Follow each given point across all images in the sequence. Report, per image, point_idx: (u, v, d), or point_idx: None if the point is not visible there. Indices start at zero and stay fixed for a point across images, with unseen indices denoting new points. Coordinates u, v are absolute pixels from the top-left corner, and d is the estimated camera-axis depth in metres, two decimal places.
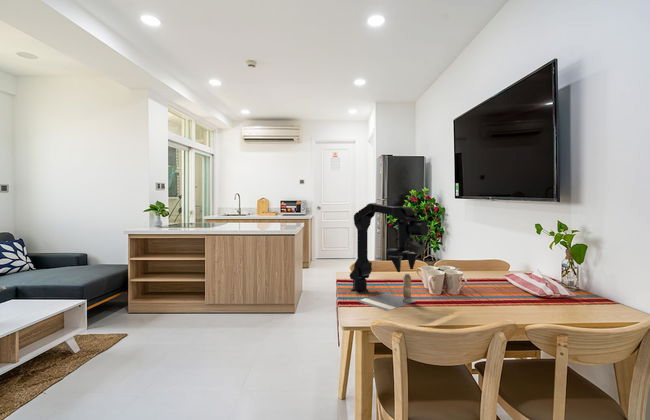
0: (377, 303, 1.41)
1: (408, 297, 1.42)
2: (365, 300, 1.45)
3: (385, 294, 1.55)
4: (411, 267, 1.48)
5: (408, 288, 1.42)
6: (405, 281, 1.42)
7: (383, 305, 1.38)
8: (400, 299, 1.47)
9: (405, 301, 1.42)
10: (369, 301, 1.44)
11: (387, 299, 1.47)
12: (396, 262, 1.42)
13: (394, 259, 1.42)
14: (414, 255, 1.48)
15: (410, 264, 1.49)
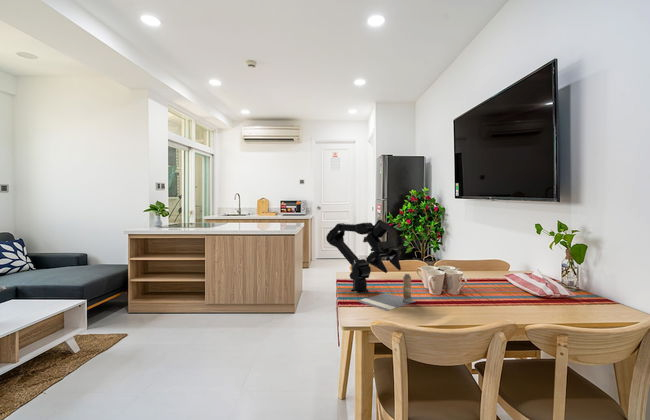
0: (377, 303, 1.41)
1: (408, 297, 1.42)
2: (365, 300, 1.45)
3: (385, 294, 1.55)
4: (399, 268, 1.53)
5: (408, 288, 1.42)
6: (405, 281, 1.42)
7: (383, 305, 1.38)
8: (400, 299, 1.47)
9: (405, 301, 1.42)
10: (369, 301, 1.44)
11: (387, 299, 1.47)
12: (379, 265, 1.48)
13: (376, 264, 1.49)
14: (395, 257, 1.55)
15: (397, 266, 1.54)
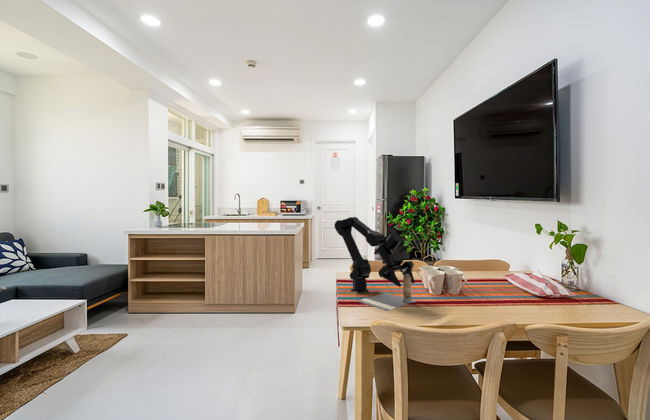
0: (377, 303, 1.41)
1: (408, 297, 1.42)
2: (365, 300, 1.45)
3: (385, 294, 1.55)
4: (412, 281, 1.47)
5: (408, 288, 1.42)
6: (405, 281, 1.42)
7: (383, 305, 1.38)
8: (400, 299, 1.47)
9: (405, 301, 1.42)
10: (369, 301, 1.44)
11: (387, 299, 1.47)
12: (392, 278, 1.42)
13: (389, 277, 1.43)
14: (408, 269, 1.49)
15: None
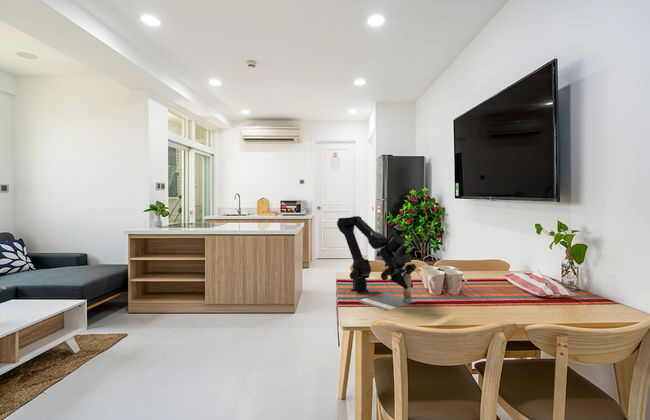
0: (377, 303, 1.41)
1: (408, 297, 1.42)
2: (365, 300, 1.45)
3: (385, 294, 1.55)
4: (411, 285, 1.44)
5: (408, 288, 1.42)
6: (405, 281, 1.42)
7: (383, 305, 1.38)
8: (400, 299, 1.47)
9: (405, 301, 1.42)
10: (369, 301, 1.44)
11: (387, 299, 1.47)
12: (399, 280, 1.43)
13: (396, 279, 1.44)
14: (406, 273, 1.46)
15: None
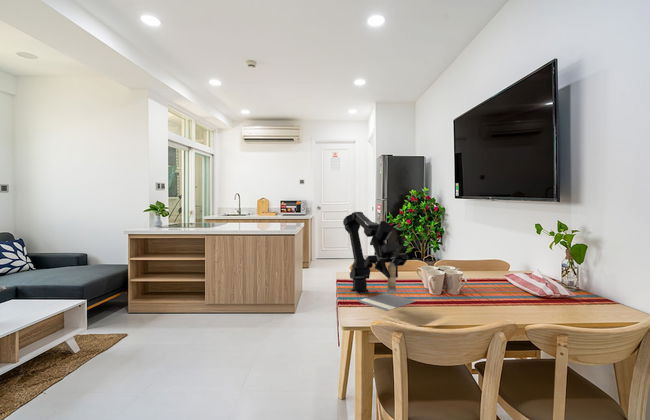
0: (377, 303, 1.41)
1: (391, 287, 1.35)
2: (365, 300, 1.45)
3: (385, 294, 1.55)
4: (396, 275, 1.37)
5: (391, 278, 1.35)
6: (388, 270, 1.36)
7: (383, 305, 1.38)
8: (400, 299, 1.47)
9: (388, 291, 1.36)
10: (369, 301, 1.44)
11: (387, 299, 1.47)
12: (383, 269, 1.37)
13: (380, 268, 1.39)
14: (393, 262, 1.39)
15: None
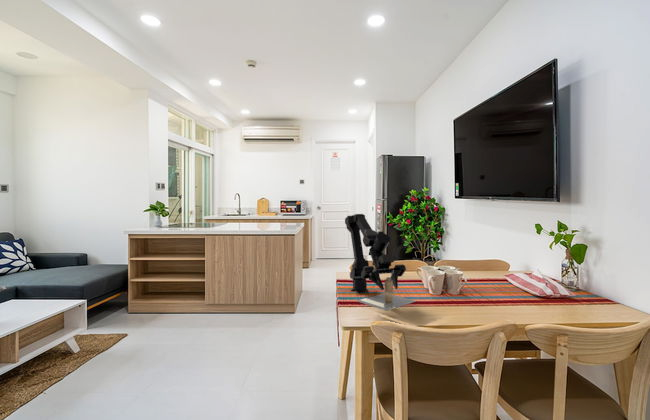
0: (377, 303, 1.41)
1: (388, 302, 1.35)
2: (365, 300, 1.45)
3: None
4: (395, 286, 1.36)
5: (388, 293, 1.35)
6: (385, 285, 1.35)
7: (383, 305, 1.38)
8: (400, 299, 1.47)
9: (385, 306, 1.35)
10: (369, 301, 1.44)
11: None
12: (377, 281, 1.37)
13: (375, 279, 1.38)
14: (393, 273, 1.39)
15: (394, 284, 1.37)
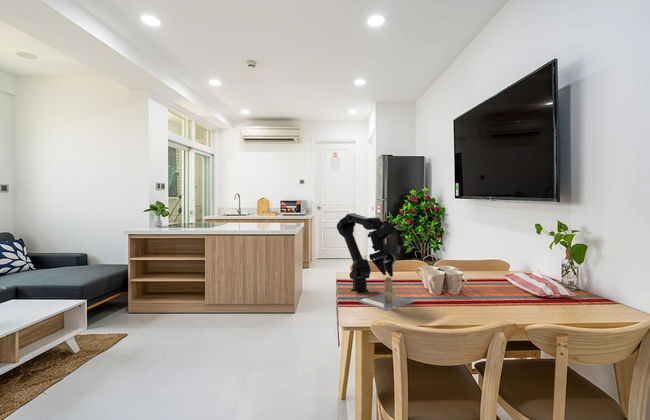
0: (377, 303, 1.41)
1: (388, 302, 1.35)
2: (365, 300, 1.45)
3: None
4: (391, 274, 1.51)
5: (388, 292, 1.35)
6: (385, 285, 1.36)
7: (383, 305, 1.38)
8: (400, 299, 1.47)
9: (385, 306, 1.36)
10: (369, 301, 1.44)
11: None
12: (380, 265, 1.44)
13: (378, 263, 1.44)
14: (390, 262, 1.53)
15: (389, 272, 1.52)
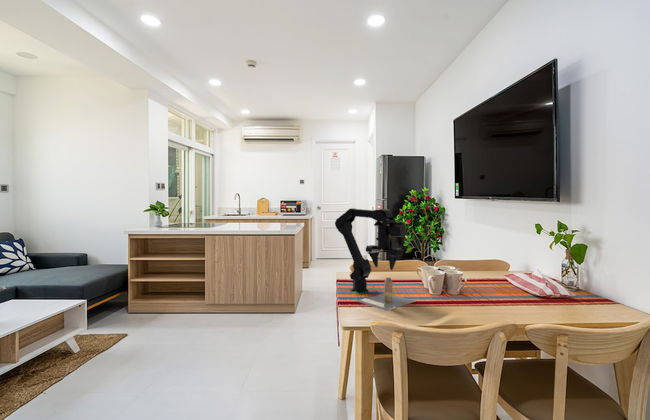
0: (377, 303, 1.41)
1: (388, 302, 1.35)
2: (365, 300, 1.45)
3: None
4: (377, 265, 1.61)
5: (388, 292, 1.35)
6: (385, 285, 1.36)
7: (383, 305, 1.38)
8: (400, 299, 1.47)
9: (385, 306, 1.36)
10: (369, 301, 1.44)
11: None
12: (393, 261, 1.53)
13: (392, 258, 1.52)
14: (377, 253, 1.62)
15: (376, 262, 1.60)
